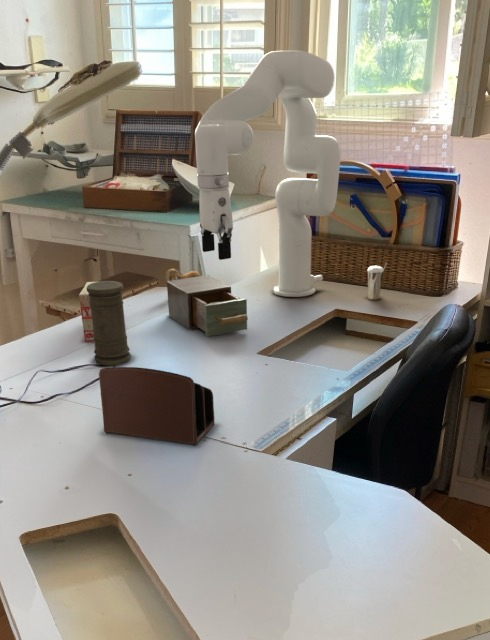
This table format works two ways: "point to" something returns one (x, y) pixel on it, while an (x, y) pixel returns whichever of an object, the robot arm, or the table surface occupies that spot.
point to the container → (108, 323)
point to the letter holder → (155, 405)
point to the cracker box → (86, 314)
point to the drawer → (219, 312)
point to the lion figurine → (180, 275)
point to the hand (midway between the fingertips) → (216, 254)
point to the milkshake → (374, 281)
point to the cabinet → (181, 295)
